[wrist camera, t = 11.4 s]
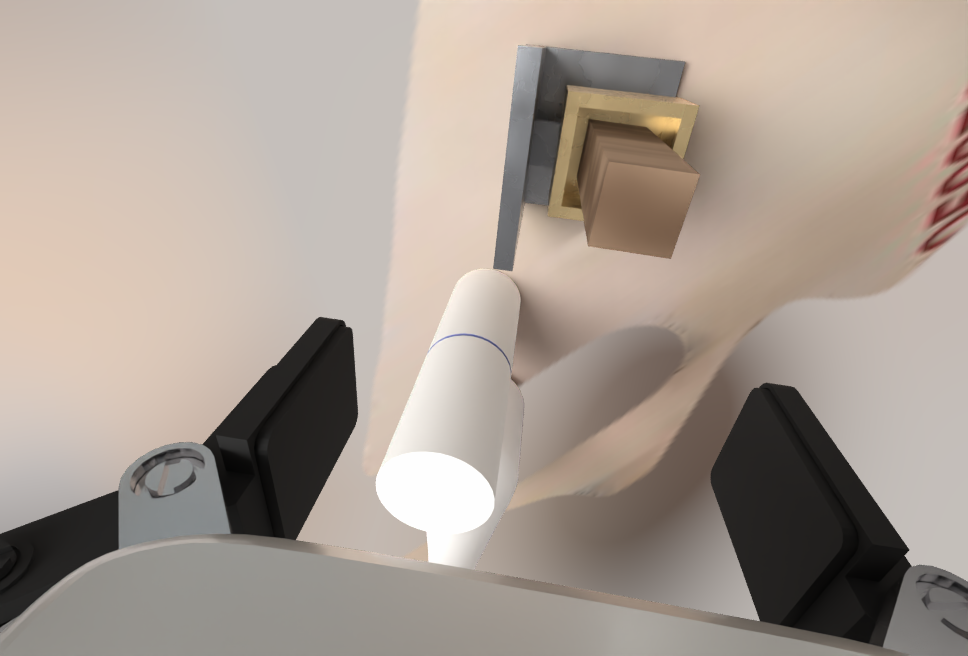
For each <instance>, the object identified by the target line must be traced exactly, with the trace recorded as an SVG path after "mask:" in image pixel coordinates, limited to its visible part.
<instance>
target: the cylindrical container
mask: <svg viewBox="0 0 968 656" xmlns="http://www.w3.org/2000/svg"><path fill="white" fill-rule="evenodd" d="M520 303H521V298H520V293H519V290H518V288H517V286H516V285H515V283H514V282H513V281H512V280H511V279H510V278H509V277H508V276H507V275H505V274H504V273H502V272H499V271H497V270H493V269H485V268H483V269H476V270H473V271H470V272H468V273H467V274H465V275H464V276H462V277H461V278H460V279H459V281H458V282H457V283H456V286H455V288H454V290H453V293H452V295H451V297H450V300H449V302H448V305H447V307H446V310H445V312H444V314H443V317H442V319H441V322H440V324H439V326H438V329H437V331H436V334H435V336H434V339H433V341H432V343H431V346H430V348H429V351H428V353H427V356H426V358H425V360H424V363H423V365H422V368H421V370H420V373H419V375H418V378H417V380H416V382H415V385H414V387H413V390H412V392H411V395H410V397H409V399H408V402H407V404H406V407H405V409H404V412H403V414H402V416H401V419H400V421H399V424H398V426H397V429H396V431H395V434H394V436H393V438H392V441H391V443H390V446H389V448H388V451H387V453H386V455H385V458H384V460H383V463H382V465H381V468H380V470H379V472H378V475H377V479H376V490H377V494H378V496H379V499H380V501H381V502H382V504H383V505H384V506H385V508H386V509H387V510H388V511H389V512H390V513H391V514H392V515H393V516H395V517H396V518H398V519H399V520H401V521H402V522H404V523H406V524H408V525H409V526H412V527H415V528H417V529H419V530H423V531H427V532H431V533H439V534H456V533H463V532H466V531H470V530H473V529H475V528H477V527H479V526H481V525H482V524H483V523H484V522H485V521H487V519H488V518H489V517H490V515H491V514H492V511H493V509H494V503H495V496H496V488H497V480H498V473H499V465H500V458H501V450H502V442H503V435H504V427H505V419H506V412H507V404H508V396H509V389H510V381H511V373H512V366H513V358H514V350H515V343H516V335H517V327H518V320H519V312H520Z"/></svg>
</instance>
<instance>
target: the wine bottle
mask: <svg viewBox="0 0 968 656" xmlns="http://www.w3.org/2000/svg"><path fill="white" fill-rule="evenodd" d="M523 415H524V401H523V396H522V394H521V391H520V389H519V388H518V386H517V385H516V384H515V383H514V382H513V381H512V380H511V381H510V389H509V396H508V404H507V412H506V419H505V427H504V435H503V442H502V450H501V458H500V465H499V473H498V480H497V488H496V496H495V503H494V509H493V511H492V514H491V515H490V517H489V518H488V519H487V521H485V522H484V523H483V524H482V525H481V526H479V527H477V528H475V529H473V530H470V531H466V532H463V533H456V534H439V533H431V532H427V542H428V554H429V556H428V562H431V563H437V564H443V565H449V566H455V567H461V568H466V569H472V570H475V567H476V565H477V563H478V561H479V559H480V557H481V555H482V553H483V551H484V549H485V548H486V546H487V544H488V542H489V540H490V538H491V536H492V534H493V532H494V530H495V528H496V526H497V524H498V523H499V521H500V519H501V517H502V515H503V514H504V512H505V510H506V508H507V506H508V505H509V503H510V501H511V498H512V496H513V494H514V492H515V489H516V486H517V483H518V475H519V463H520V451H521V438H522V427H523Z"/></svg>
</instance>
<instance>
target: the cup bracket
mask: <svg viewBox="0 0 968 656" xmlns="http://www.w3.org/2000/svg"><path fill="white" fill-rule="evenodd" d="M684 64H685V62H683V61H674V60H665V59H656V58H646V57H637V56H628V55H619V54H609V53H600V52H591V51H581V50H572V49H563V48H554V47H544V46H535V45H518V50H517V59H516V68H515V77H514V86H513V95H512V104H511V113H510V122H509V131H508V140H507V149H506V158H505V167H504V176H503V185H502V194H501V203H500V212H499V221H498V230H497V239H496V248H495V257H494V266H493V269H500V270H507V271H512V270H513V265H514V259H515V254H516V249H517V243H518V238H519V232H520V227H521V222H522V216H523V211H524V206H525V203H533V204H541V205H548V216H549V217H557V218H565V219H572V220H580V221H584V218H583V212H582V206H581V200H580V194H579V188H578V182H577V173H578V168H579V164H580V159H581V154H582V149H583V145H584V140H585V135H586V131H587V126H588V121H589V119H593V120H600V121H608V122H615V123H622V124H629V125H636V126H644V127H647V128H648V129H650V130H651V131H652V132H653V133H654V134H655V135H656V136H657V137H659V138H660V139H661V140H662V141H663V142H664V143H665V144H666V145H668V146H669V147H670V148H671V149H672V150H673V151H674V152H675V153H676V154H678V155H679V156H680V157H681V158H682V159H684V155H685V152H686V149H687V145H688V142H689V139H690V135H691V132H692V129H693V126H694V122H695V119H696V116H697V112H698V109H699V105H696V104H694V103H692V102H689V101H687V100H685V99H682V98H678V97H676V93H677V90H678V86H679V83H680V79H681V75H682V72H683V68H684Z"/></svg>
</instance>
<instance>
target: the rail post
mask: <svg viewBox="0 0 968 656" xmlns="http://www.w3.org/2000/svg"><path fill="white" fill-rule="evenodd" d="M699 176H700V174H699V173H698V172H697V171H696V170H694V169H693V168H692V167H691V166H690V165H689V164H688V163H687V162H685V161H684V160H683V159H682V158H681V157H680V156H679V155H678V154H676V153H675V152H674V151H673V150H672V149H671V148H670V147H669V146H668V145H666V144H665V143H664V142H663V141H662V140H661V139H660V138H659V137H657V136H656V135H655V134H654V133H653V132H652V131H651V130H650V129H648V128H647V127H644V126H636V125H629V124H622V123H615V122H608V121H600V120H593V119H589V121H588V126H587V131H586V135H585V140H584V145H583V149H582V154H581V159H580V164H579V168H578V173H577V182H578V188H579V194H580V200H581V206H582V212H583V218H584V224H585V230H586V236H587V242H588V246H591V247H597V248H604V249H610V250H617V251H623V252H630V253H637V254H643V255H650V256H656V257H663V258H669V259H671V257H672V254H673V251H674V248H675V245H676V242H677V240H678V237H679V234H680V231H681V228H682V225H683V222H684V219H685V217H686V214H687V211H688V208H689V205H690V202H691V199H692V196H693V194H694V191H695V188H696V185H697V182H698V179H699Z"/></svg>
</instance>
